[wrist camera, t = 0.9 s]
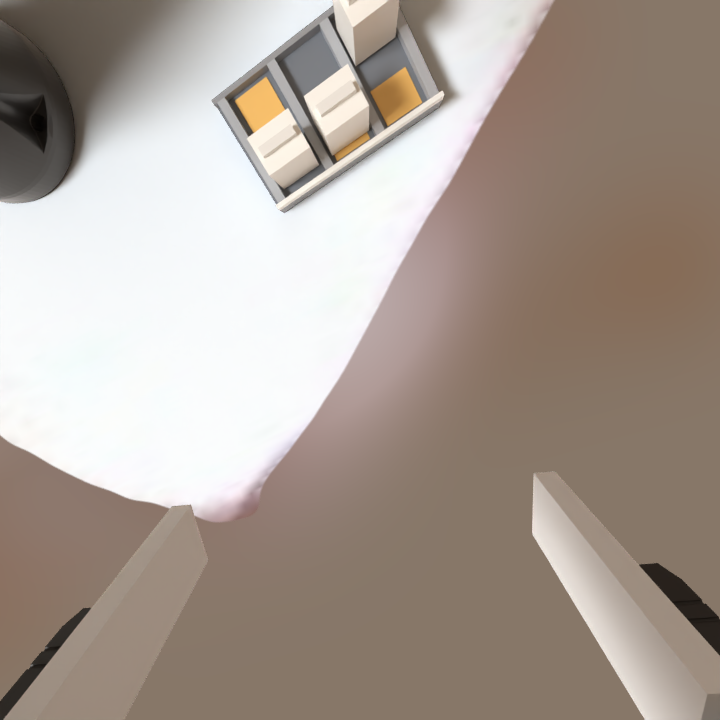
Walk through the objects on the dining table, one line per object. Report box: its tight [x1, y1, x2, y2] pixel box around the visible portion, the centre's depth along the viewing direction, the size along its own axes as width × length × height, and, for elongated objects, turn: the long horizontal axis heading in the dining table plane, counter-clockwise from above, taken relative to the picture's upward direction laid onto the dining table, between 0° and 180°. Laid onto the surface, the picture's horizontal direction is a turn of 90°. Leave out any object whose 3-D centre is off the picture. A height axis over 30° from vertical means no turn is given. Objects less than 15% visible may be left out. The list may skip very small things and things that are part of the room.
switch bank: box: [212, 6, 444, 213], centre depth 30 cm, size 10×17×2 cm, turn 121°
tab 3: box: [304, 64, 369, 156], centre depth 27 cm, size 3×4×5 cm
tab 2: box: [333, 0, 400, 66], centre depth 25 cm, size 3×4×5 cm
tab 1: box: [247, 108, 319, 189], centre depth 28 cm, size 3×4×5 cm
